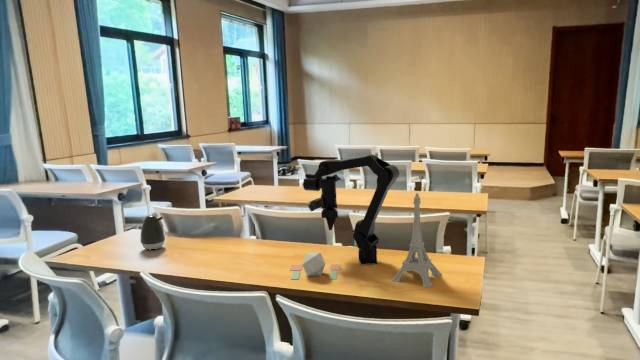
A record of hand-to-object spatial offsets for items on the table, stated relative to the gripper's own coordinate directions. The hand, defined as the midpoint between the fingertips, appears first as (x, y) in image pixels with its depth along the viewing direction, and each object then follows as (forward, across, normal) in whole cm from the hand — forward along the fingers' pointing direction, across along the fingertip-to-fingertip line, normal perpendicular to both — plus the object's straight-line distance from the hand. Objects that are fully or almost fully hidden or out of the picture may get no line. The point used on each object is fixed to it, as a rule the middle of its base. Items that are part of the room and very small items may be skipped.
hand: (330, 229), depth 176 cm
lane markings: (+11, +17, -6) cm, 21 cm away
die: (+11, +19, -6) cm, 23 cm away
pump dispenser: (+10, -16, -79) cm, 81 cm away
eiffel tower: (+12, +24, +30) cm, 40 cm away
